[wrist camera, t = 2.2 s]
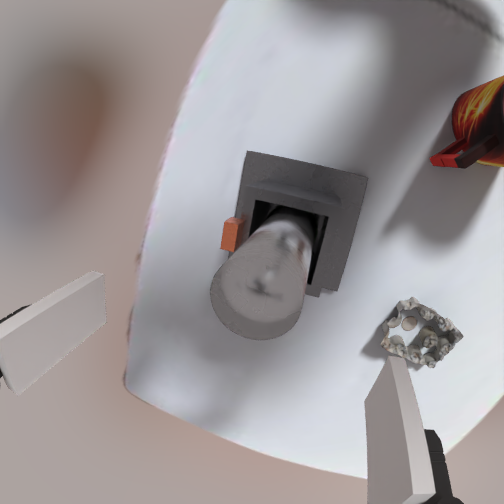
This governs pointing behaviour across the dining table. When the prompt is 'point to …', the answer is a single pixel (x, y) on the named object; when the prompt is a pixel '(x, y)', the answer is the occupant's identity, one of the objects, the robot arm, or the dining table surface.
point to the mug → (476, 128)
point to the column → (267, 276)
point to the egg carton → (420, 335)
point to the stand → (304, 198)
